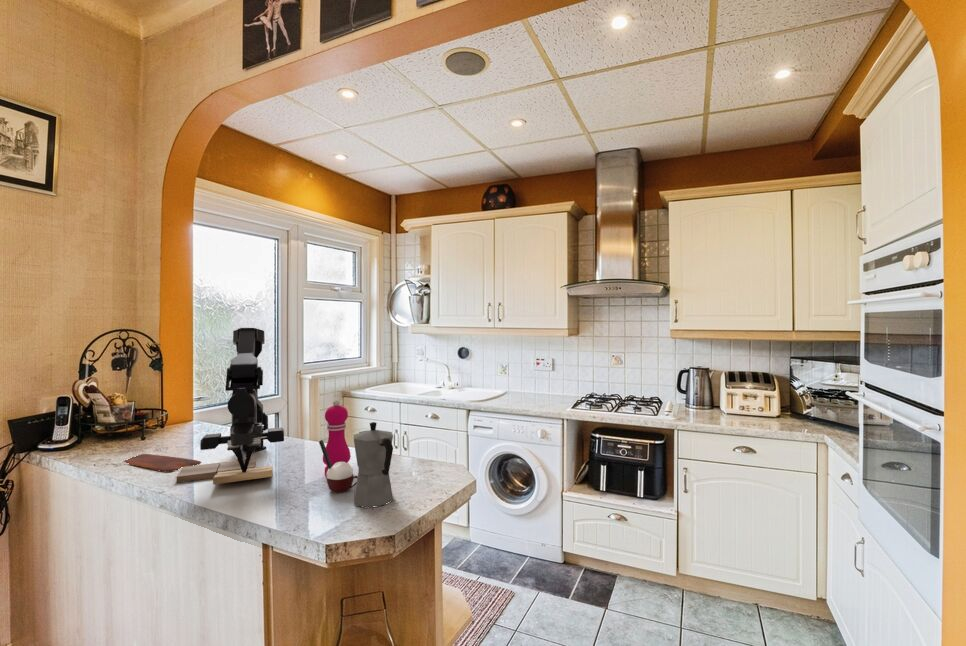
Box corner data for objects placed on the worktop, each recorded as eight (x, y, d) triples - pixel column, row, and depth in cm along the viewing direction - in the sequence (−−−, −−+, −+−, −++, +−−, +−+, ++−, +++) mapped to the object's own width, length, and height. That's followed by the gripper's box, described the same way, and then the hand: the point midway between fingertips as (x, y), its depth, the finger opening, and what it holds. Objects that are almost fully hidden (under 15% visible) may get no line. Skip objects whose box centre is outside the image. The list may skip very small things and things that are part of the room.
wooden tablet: (204, 465, 131) (204, 459, 131) (168, 475, 122) (169, 469, 122) (147, 454, 141) (147, 449, 141) (111, 463, 132) (111, 458, 132)
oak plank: (218, 478, 117) (218, 472, 117) (272, 471, 122) (272, 465, 122) (212, 484, 108) (213, 477, 108) (272, 476, 113) (272, 470, 114)
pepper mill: (356, 470, 123) (355, 398, 123) (337, 479, 116) (337, 403, 116) (336, 467, 126) (335, 397, 126) (316, 475, 119) (316, 401, 119)
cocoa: (361, 489, 110) (364, 441, 110) (344, 498, 104) (347, 446, 104) (331, 482, 114) (334, 435, 114) (313, 490, 108) (316, 441, 108)
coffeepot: (342, 496, 105) (342, 420, 105) (379, 487, 110) (379, 415, 110) (371, 518, 93) (370, 432, 93) (410, 506, 98) (410, 425, 98)
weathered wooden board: (183, 472, 122) (183, 466, 122) (255, 463, 129) (255, 458, 129) (176, 482, 114) (176, 476, 114) (254, 472, 122) (254, 466, 122)
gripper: (196, 419, 103) (196, 486, 103) (284, 412, 111) (284, 475, 111) (203, 412, 114) (203, 474, 113) (283, 406, 121) (284, 463, 121)
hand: (244, 471), depth 114 cm, fingers closed, pressing on oak plank
